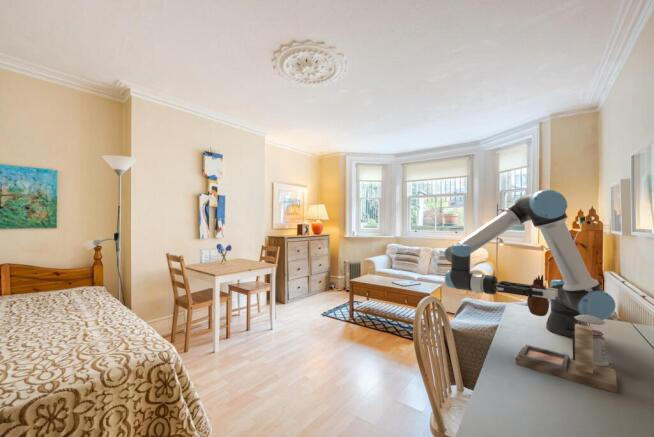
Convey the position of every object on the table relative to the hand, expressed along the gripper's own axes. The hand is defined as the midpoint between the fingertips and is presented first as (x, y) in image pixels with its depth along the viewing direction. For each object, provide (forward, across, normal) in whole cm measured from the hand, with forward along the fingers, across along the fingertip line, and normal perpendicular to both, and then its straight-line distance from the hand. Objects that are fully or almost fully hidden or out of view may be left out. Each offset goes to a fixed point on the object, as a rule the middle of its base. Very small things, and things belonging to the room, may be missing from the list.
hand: (556, 294), depth 102 cm
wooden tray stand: (+3, +9, -22) cm, 24 cm away
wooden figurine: (-5, 0, -9) cm, 10 cm away
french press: (+8, -9, -23) cm, 26 cm away
